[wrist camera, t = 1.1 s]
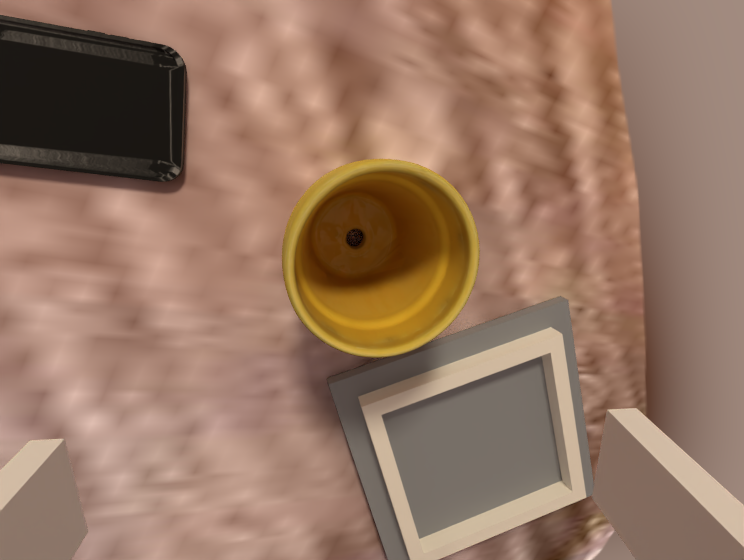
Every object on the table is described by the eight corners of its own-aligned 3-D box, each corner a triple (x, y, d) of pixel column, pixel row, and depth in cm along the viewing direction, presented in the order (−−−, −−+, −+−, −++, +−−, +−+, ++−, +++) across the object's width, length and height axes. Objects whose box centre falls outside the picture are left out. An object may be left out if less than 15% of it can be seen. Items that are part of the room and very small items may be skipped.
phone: (180, 183, 28) (-115, 149, 25) (183, 182, 29) (-100, 149, 26) (185, 46, 26) (-134, -13, 23) (188, 50, 27) (-116, -5, 24)
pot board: (391, 568, 41) (398, 593, 38) (326, 378, 34) (330, 394, 32) (587, 486, 43) (606, 505, 41) (560, 296, 37) (580, 305, 35)
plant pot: (435, 281, 34) (496, 326, 25) (303, 321, 33) (315, 385, 24) (406, 142, 31) (463, 135, 22) (258, 180, 30) (253, 190, 21)
